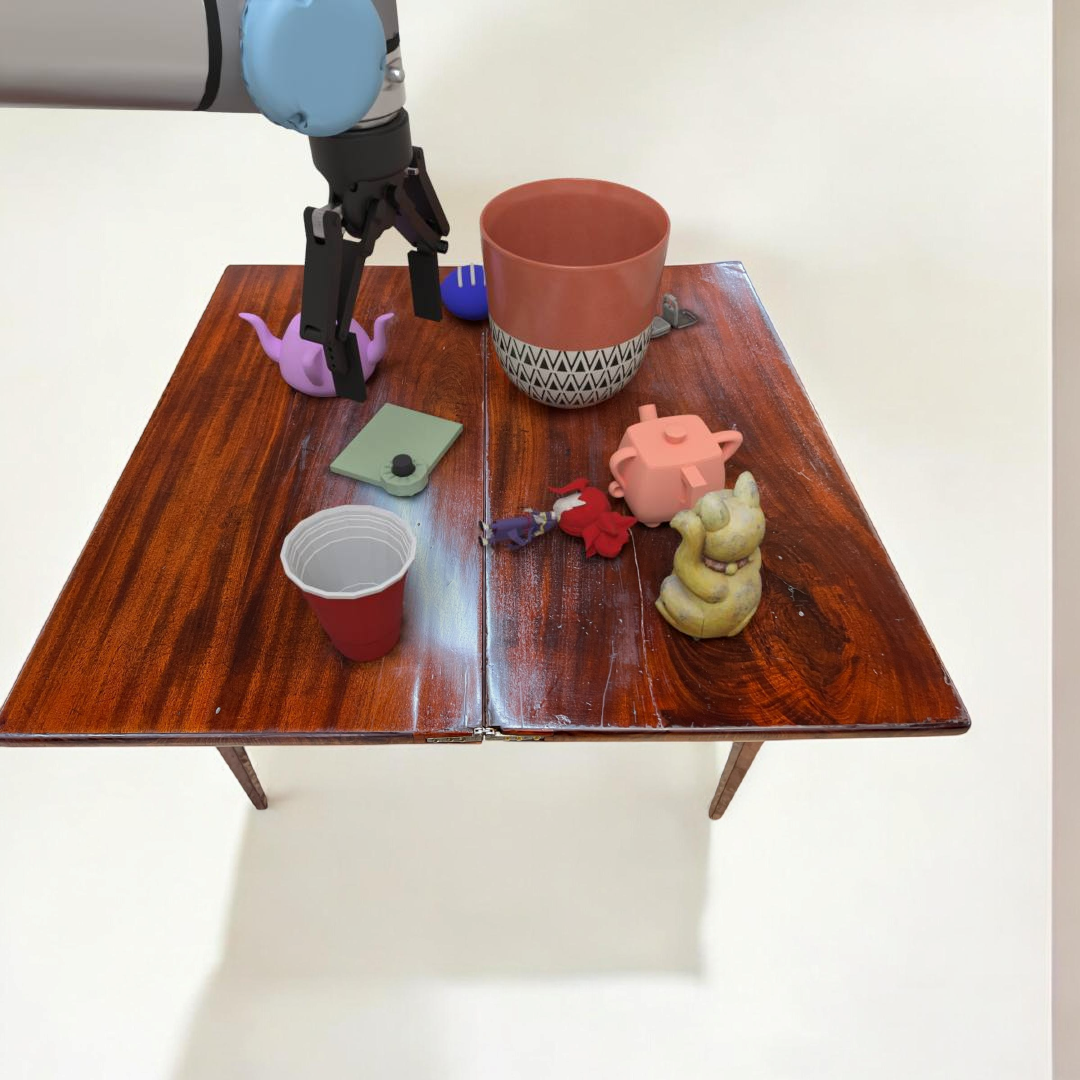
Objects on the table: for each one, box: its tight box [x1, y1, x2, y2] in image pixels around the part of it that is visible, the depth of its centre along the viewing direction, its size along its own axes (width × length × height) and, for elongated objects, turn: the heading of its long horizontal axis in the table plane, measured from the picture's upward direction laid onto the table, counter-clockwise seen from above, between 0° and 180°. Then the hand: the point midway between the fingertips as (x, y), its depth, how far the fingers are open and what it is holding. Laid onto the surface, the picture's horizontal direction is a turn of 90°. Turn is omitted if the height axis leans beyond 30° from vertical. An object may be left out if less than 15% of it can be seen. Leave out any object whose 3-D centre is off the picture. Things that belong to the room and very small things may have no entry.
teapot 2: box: [608, 403, 744, 528], centre depth 86 cm, size 12×12×10 cm
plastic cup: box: [279, 504, 417, 662], centre depth 73 cm, size 11×11×12 cm
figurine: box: [477, 477, 639, 559], centre depth 83 cm, size 6×8×15 cm
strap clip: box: [650, 293, 700, 339], centre depth 111 cm, size 8×3×4 cm, turn 121°
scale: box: [329, 402, 464, 497], centre depth 93 cm, size 13×11×2 cm
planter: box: [478, 177, 672, 410], centre depth 95 cm, size 20×20×21 cm
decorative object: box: [440, 262, 489, 321], centre depth 113 cm, size 10×6×10 cm
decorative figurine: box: [654, 470, 766, 642], centre depth 74 cm, size 10×8×15 cm
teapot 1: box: [238, 311, 395, 398], centre depth 101 cm, size 12×14×9 cm
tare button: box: [392, 454, 413, 477], centre depth 89 cm, size 2×2×2 cm
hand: (392, 355), depth 78 cm, fingers open, 13 cm apart
